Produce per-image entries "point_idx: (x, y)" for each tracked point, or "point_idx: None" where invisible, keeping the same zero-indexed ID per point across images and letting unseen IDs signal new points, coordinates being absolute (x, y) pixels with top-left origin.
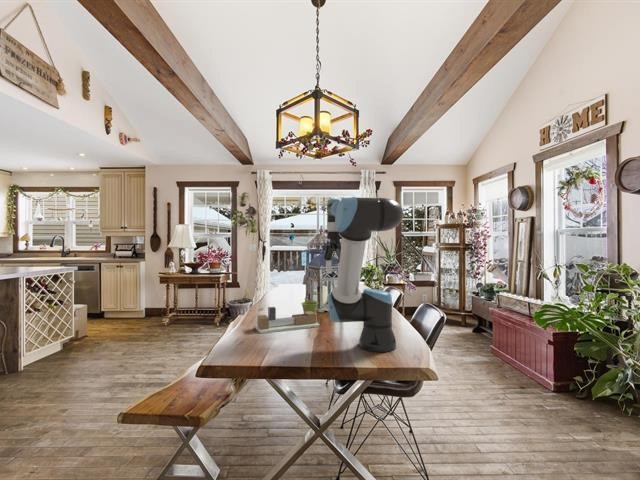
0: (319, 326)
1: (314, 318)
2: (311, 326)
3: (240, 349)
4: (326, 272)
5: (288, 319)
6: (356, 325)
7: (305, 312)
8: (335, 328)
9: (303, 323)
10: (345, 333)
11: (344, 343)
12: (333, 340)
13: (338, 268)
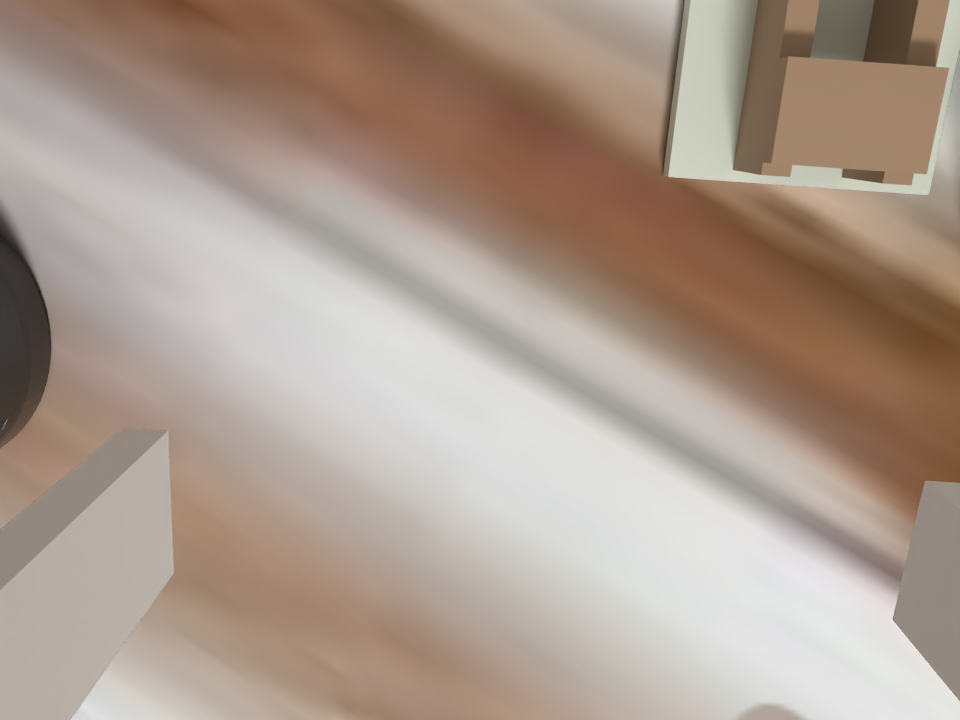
0: (663, 174)
1: (754, 148)
2: (678, 76)
3: None
4: (953, 493)
5: None
6: (527, 522)
7: (899, 70)
8: (532, 294)
9: (762, 2)
10: (336, 290)
11: (60, 115)
12: (179, 67)
13: (40, 534)
